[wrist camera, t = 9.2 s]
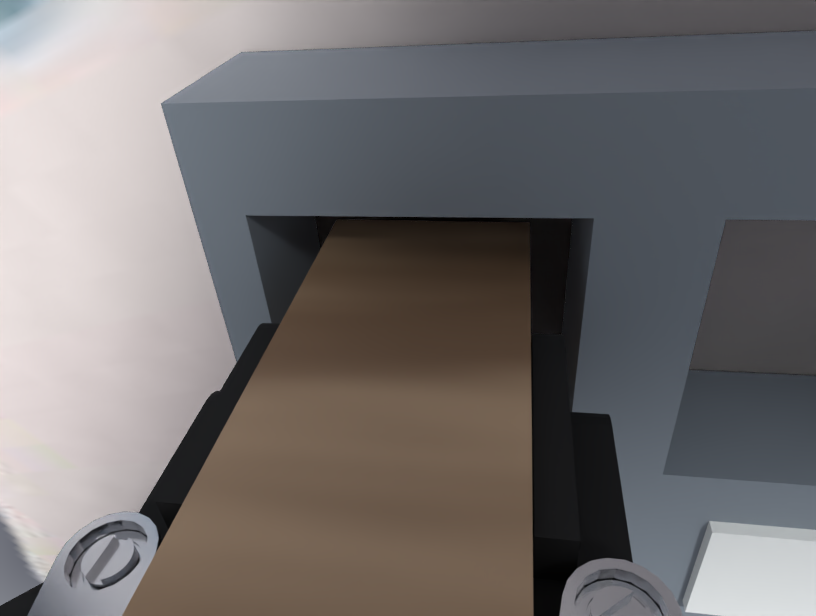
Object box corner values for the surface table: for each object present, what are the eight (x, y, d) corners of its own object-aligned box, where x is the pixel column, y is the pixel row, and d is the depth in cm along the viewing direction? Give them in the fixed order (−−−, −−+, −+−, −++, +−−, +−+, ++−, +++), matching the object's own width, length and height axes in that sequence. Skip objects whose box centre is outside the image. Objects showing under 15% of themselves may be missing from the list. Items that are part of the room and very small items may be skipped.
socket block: (240, 52, 13) (152, 109, 10) (1150, 17, 10) (1419, 81, 7) (333, 490, 21) (299, 597, 18) (858, 535, 18) (925, 669, 15)
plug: (336, 219, 13) (29, 786, 5) (529, 222, 12) (536, 877, 4) (357, 364, 15) (169, 915, 7) (521, 374, 15) (514, 989, 7)
